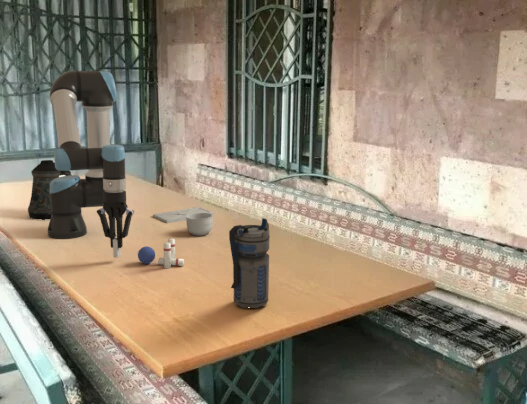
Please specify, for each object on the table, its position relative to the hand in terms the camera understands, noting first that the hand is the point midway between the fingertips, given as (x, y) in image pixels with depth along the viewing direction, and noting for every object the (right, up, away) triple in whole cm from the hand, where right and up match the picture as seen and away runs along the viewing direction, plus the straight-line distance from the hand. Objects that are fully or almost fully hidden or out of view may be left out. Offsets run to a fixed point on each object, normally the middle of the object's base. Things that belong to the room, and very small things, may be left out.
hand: (117, 256), depth 215 cm
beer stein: (-46, +13, +64) cm, 80 cm away
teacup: (+25, +6, +39) cm, 47 cm away
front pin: (+15, -1, -2) cm, 15 cm away
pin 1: (+18, -3, -5) cm, 19 cm away
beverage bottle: (+47, -11, -36) cm, 60 cm away
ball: (+11, +1, -1) cm, 11 cm away
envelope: (+15, +12, +66) cm, 69 cm away
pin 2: (+19, -2, 0) cm, 19 cm away
